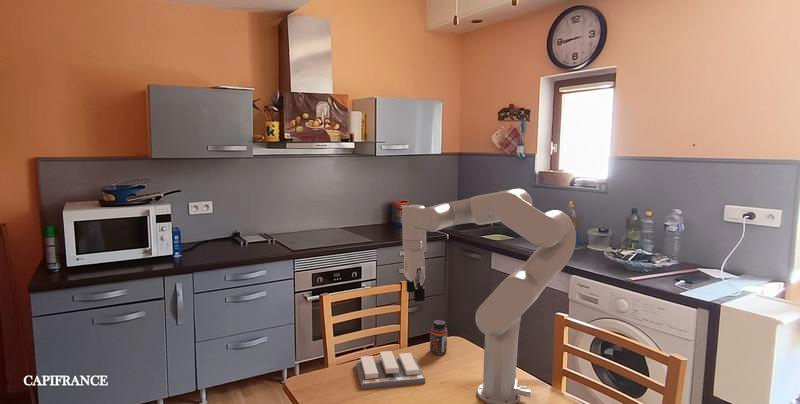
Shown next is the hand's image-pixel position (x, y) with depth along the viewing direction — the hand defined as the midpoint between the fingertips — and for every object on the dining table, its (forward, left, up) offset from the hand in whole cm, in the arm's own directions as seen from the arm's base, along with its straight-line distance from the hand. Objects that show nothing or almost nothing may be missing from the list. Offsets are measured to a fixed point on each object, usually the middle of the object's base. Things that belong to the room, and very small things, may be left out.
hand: (415, 296), depth 158 cm
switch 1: (+13, +7, -24) cm, 28 cm away
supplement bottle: (-4, -16, -26) cm, 31 cm away
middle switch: (+7, +4, -22) cm, 24 cm away
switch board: (+7, +5, -25) cm, 27 cm away
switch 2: (+2, +1, -24) cm, 24 cm away
